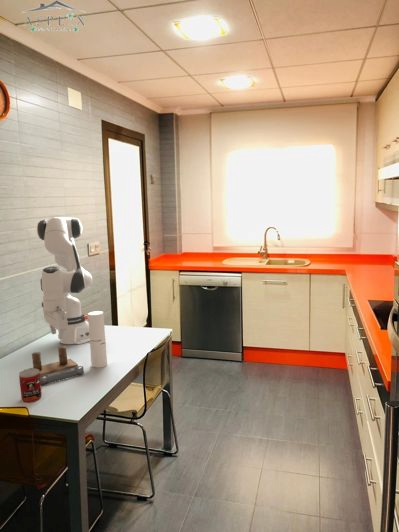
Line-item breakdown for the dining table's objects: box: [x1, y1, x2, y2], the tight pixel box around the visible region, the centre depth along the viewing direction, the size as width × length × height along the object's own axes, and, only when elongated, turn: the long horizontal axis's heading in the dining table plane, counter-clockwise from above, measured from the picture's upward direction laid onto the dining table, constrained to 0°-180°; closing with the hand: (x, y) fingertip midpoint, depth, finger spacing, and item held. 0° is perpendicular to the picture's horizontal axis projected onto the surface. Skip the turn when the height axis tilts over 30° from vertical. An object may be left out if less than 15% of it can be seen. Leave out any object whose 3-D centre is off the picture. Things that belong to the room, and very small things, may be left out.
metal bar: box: [40, 365, 85, 387], centre depth 198 cm, size 20×4×3 cm, turn 126°
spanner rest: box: [24, 345, 79, 376], centre depth 209 cm, size 22×10×9 cm, turn 126°
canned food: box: [18, 367, 43, 403], centre depth 179 cm, size 8×8×11 cm
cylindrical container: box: [87, 310, 108, 368], centre depth 212 cm, size 7×7×25 cm
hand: (57, 336), depth 196 cm, fingers open, 8 cm apart
